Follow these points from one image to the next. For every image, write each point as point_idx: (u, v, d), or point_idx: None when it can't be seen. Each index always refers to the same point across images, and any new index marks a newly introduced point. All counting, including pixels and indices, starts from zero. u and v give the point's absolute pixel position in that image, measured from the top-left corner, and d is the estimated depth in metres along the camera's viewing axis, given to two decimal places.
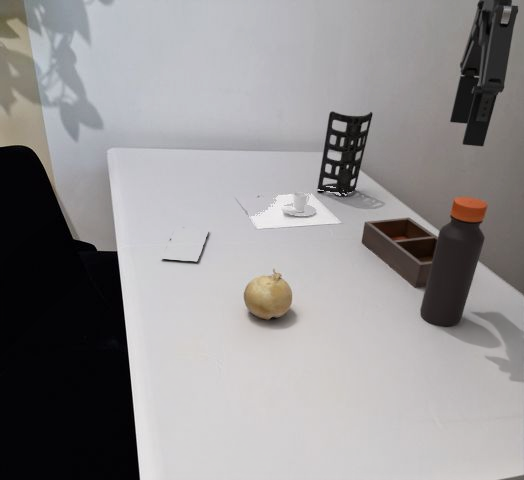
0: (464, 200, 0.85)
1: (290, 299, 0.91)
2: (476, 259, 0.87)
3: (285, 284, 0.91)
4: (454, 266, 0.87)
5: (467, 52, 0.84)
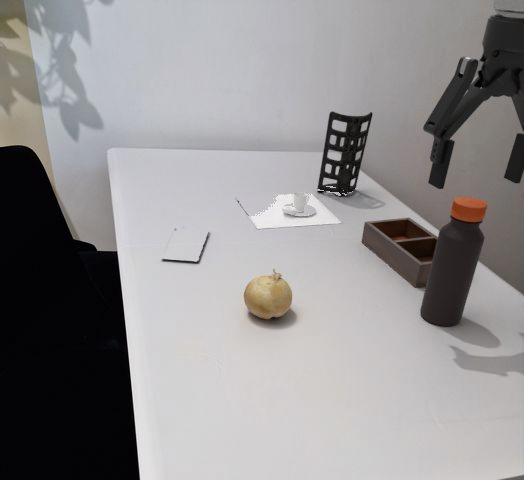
0: (464, 200, 0.85)
1: (290, 299, 0.91)
2: (476, 259, 0.87)
3: (285, 284, 0.91)
4: (454, 266, 0.87)
5: None
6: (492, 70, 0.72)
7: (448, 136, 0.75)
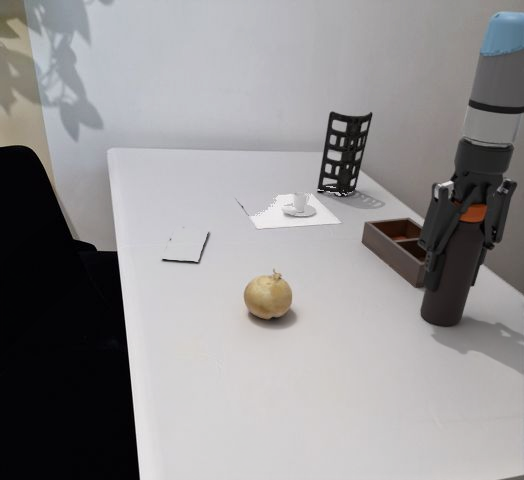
0: None
1: (290, 299, 0.91)
2: (476, 259, 0.87)
3: (285, 284, 0.91)
4: (454, 266, 0.87)
5: None
6: (462, 186, 0.81)
7: (439, 251, 0.86)
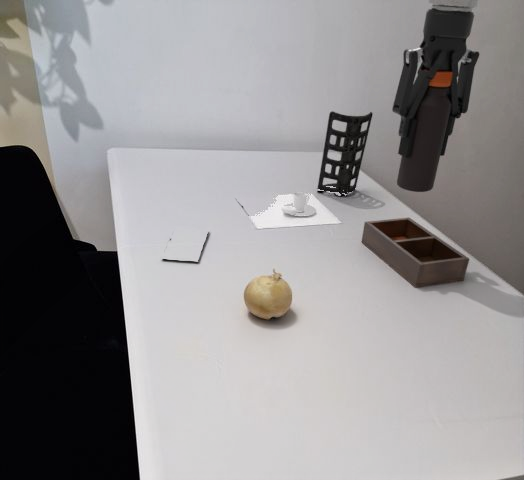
0: None
1: (290, 299, 0.91)
2: (444, 124, 0.98)
3: (285, 284, 0.91)
4: (425, 131, 0.98)
5: None
6: (430, 52, 0.92)
7: (411, 115, 0.97)
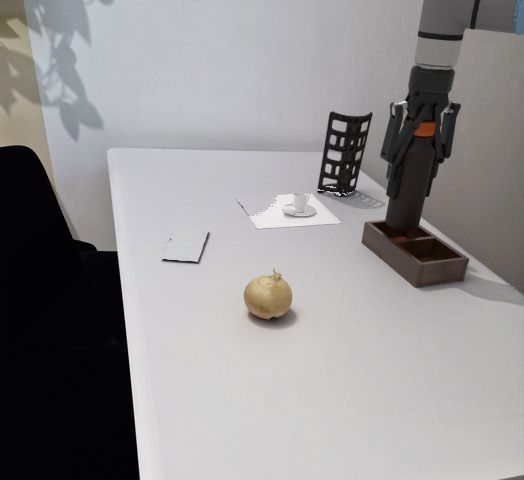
0: None
1: (290, 299, 0.91)
2: (428, 170, 1.06)
3: (285, 284, 0.91)
4: (410, 175, 1.05)
5: None
6: (414, 105, 0.99)
7: (397, 162, 1.04)
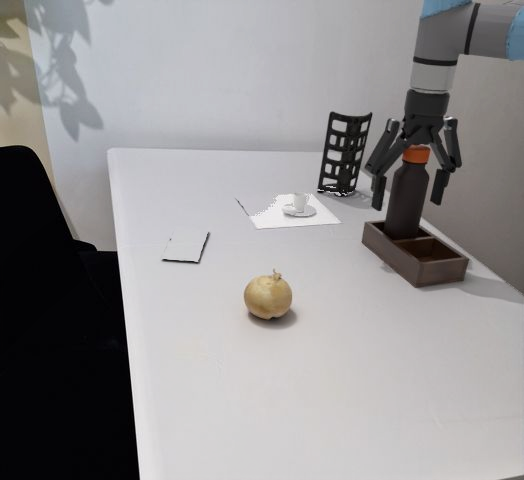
0: (412, 146, 1.06)
1: (290, 299, 0.91)
2: (423, 195, 1.08)
3: (285, 284, 0.91)
4: (405, 200, 1.08)
5: (447, 152, 1.10)
6: (410, 127, 1.01)
7: (381, 174, 1.04)
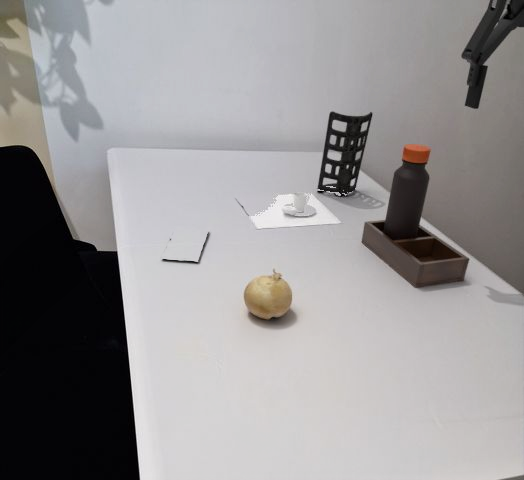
0: (412, 146, 1.06)
1: (290, 299, 0.91)
2: (423, 195, 1.08)
3: (285, 284, 0.91)
4: (405, 200, 1.08)
5: None
6: (518, 3, 0.88)
7: (482, 61, 0.91)
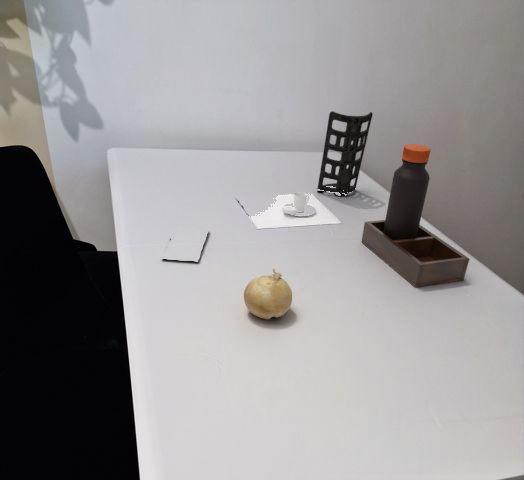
0: (412, 146, 1.06)
1: (290, 299, 0.91)
2: (423, 195, 1.08)
3: (285, 284, 0.91)
4: (405, 200, 1.08)
5: None
6: None
7: None
